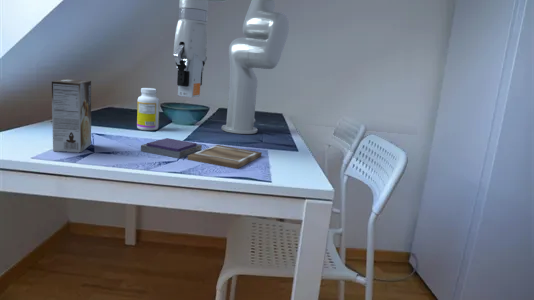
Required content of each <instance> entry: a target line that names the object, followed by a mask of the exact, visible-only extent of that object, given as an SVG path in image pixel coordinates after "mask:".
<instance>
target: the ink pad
mask: <svg viewBox="0 0 534 300" xmlns="http://www.w3.org/2000/svg"><path fill="white" fill-rule="evenodd" d="M202 147H203V146H202V144H198V143H197V142H192V141H191V142H190V141H186V140H180V139H174V138H167V137H166V138H162V139H158V140H155V141H150V142H147V143H143V144H140V152H142V153H148V154H155V155H158V156H159V155H160V156H164V157H170V158H176V159H181V158H182V159H183V158H184V157H188V155H190V154H193V153H196V152H199V151H202Z"/></svg>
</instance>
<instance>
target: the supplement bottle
mask: <svg viewBox="0 0 534 300" xmlns="http://www.w3.org/2000/svg"><path fill="white" fill-rule="evenodd" d="M140 92H141V95H140V96H138V98H137V101H136V102H137V103H136V104H137V110H136V112H137V113H136V115H137V116H136V128H137V129H138V130H142V131H156V130H159V125H160V124H159V123H160V120H159V119H160V98H158V97H157V95H156V94H157V92H158V91H157V89H156V88H153V87H142V88H140Z"/></svg>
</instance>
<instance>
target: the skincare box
mask: <svg viewBox="0 0 534 300" xmlns="http://www.w3.org/2000/svg"><path fill="white" fill-rule="evenodd" d="M182 58H184V59H187V58H186V57H183V56H182ZM185 63H186V62H184V64H185ZM201 69H202V61H200V60H199V58H198V55H197V53H195V52H194V56H193V60H192V61H190V64H189V68H188V71H189V86H188V87H185V86H178V85H177V86H178V87H177V88H178V89H177V96H178V97H182V98H183V97H184V98H190V99H191V98H199V97H201V86H202V85H201ZM200 85H201V86H200Z"/></svg>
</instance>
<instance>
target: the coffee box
mask: <svg viewBox="0 0 534 300" xmlns="http://www.w3.org/2000/svg"><path fill="white" fill-rule="evenodd" d="M51 113H52V114H51V118H52V122H51V124H52V151H53V152H59V151H67V152H66V153H79V152H81V153H82V152H83V151H85V150H86V149H87V148H88V147H90V145H92V80H82V79H73V78H72V79H71V78H63V79H59V80H58V79H57V80H53V81H51Z"/></svg>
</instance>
